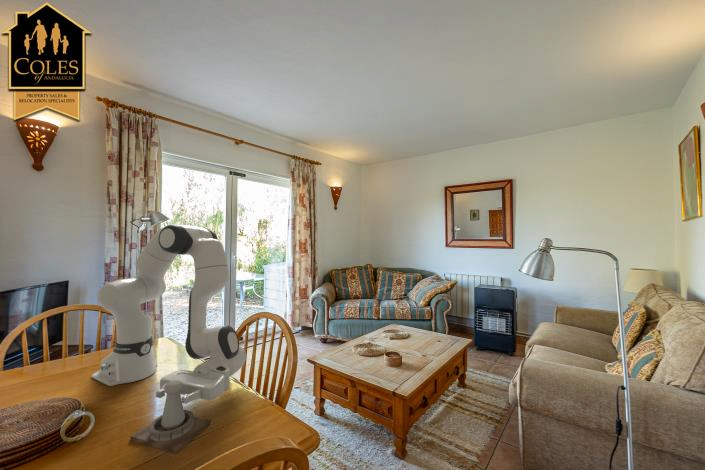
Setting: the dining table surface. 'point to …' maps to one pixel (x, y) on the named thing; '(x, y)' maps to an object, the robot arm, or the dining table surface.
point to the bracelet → (67, 422)
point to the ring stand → (171, 433)
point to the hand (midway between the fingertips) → (170, 398)
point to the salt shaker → (173, 407)
